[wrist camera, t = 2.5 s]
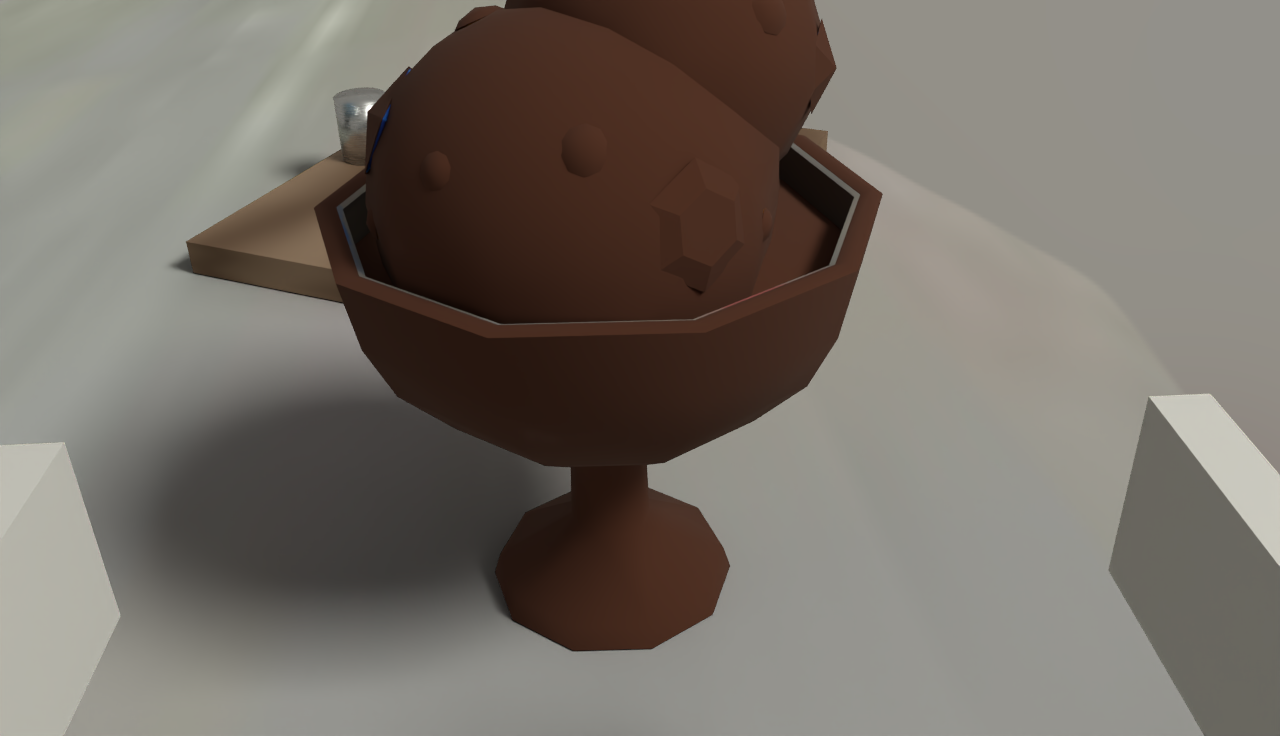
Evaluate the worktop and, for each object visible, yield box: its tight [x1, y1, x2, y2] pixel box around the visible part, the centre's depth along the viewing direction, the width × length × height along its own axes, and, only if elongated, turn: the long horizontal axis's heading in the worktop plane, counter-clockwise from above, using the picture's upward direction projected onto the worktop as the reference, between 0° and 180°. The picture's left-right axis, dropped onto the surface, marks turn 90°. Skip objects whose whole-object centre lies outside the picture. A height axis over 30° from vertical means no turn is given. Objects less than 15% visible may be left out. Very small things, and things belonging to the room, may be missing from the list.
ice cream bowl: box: [314, 0, 883, 651], centre depth 24 cm, size 11×11×15 cm
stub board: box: [186, 88, 828, 302], centre depth 45 cm, size 18×18×4 cm
